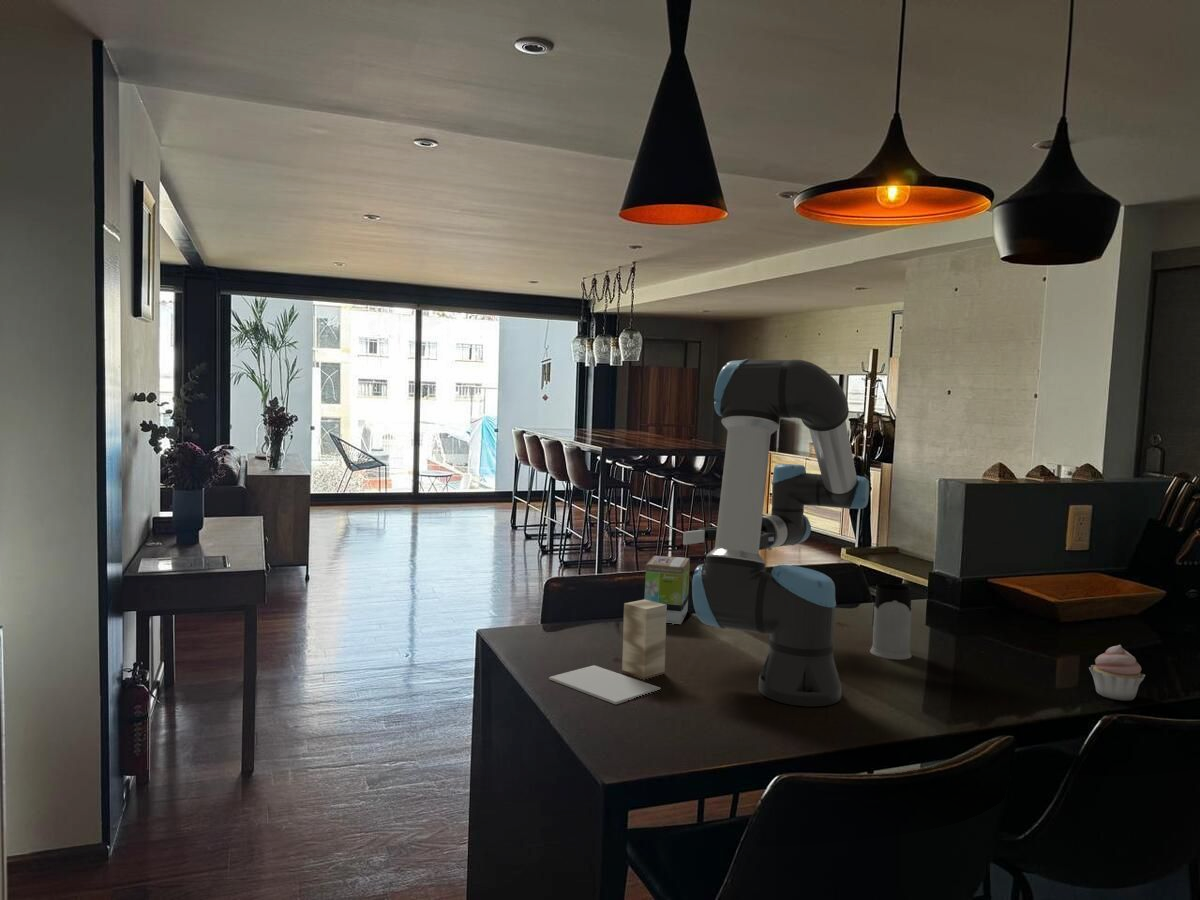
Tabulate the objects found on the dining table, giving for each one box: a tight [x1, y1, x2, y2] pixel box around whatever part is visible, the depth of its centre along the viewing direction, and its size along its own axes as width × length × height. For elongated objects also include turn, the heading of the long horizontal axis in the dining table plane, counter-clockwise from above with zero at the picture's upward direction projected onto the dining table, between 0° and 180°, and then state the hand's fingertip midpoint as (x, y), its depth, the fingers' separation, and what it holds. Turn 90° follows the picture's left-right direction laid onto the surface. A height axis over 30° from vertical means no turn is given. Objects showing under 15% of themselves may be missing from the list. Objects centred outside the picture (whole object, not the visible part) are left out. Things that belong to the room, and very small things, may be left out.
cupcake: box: [1088, 644, 1146, 701], centre depth 161 cm, size 9×9×10 cm
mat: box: [548, 665, 661, 705], centre depth 159 cm, size 18×12×1 cm, turn 44°
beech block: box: [621, 598, 667, 681], centre depth 167 cm, size 6×6×14 cm
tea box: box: [643, 555, 691, 625], centre depth 214 cm, size 15×10×15 cm, turn 168°
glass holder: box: [869, 583, 913, 660], centre depth 189 cm, size 9×14×15 cm, turn 166°
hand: (702, 541), depth 178 cm, fingers open, 9 cm apart
